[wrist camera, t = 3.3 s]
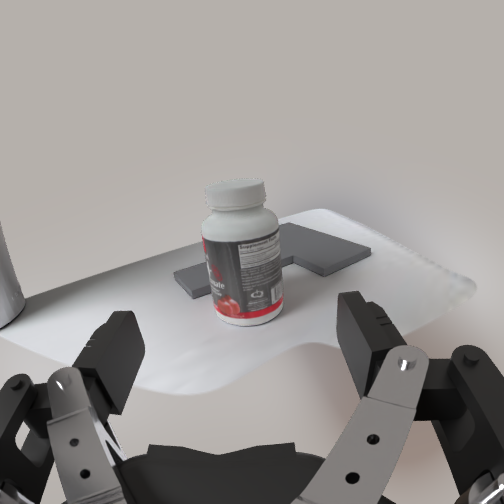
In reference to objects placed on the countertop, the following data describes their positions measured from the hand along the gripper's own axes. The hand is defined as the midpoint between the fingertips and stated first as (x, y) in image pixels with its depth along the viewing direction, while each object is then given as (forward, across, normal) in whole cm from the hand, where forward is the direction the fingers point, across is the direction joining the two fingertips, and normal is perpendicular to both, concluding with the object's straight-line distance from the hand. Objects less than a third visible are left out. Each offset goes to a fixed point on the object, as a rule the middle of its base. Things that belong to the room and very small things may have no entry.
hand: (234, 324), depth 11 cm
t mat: (+19, -1, +6) cm, 20 cm away
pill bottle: (+11, 0, +6) cm, 13 cm away
